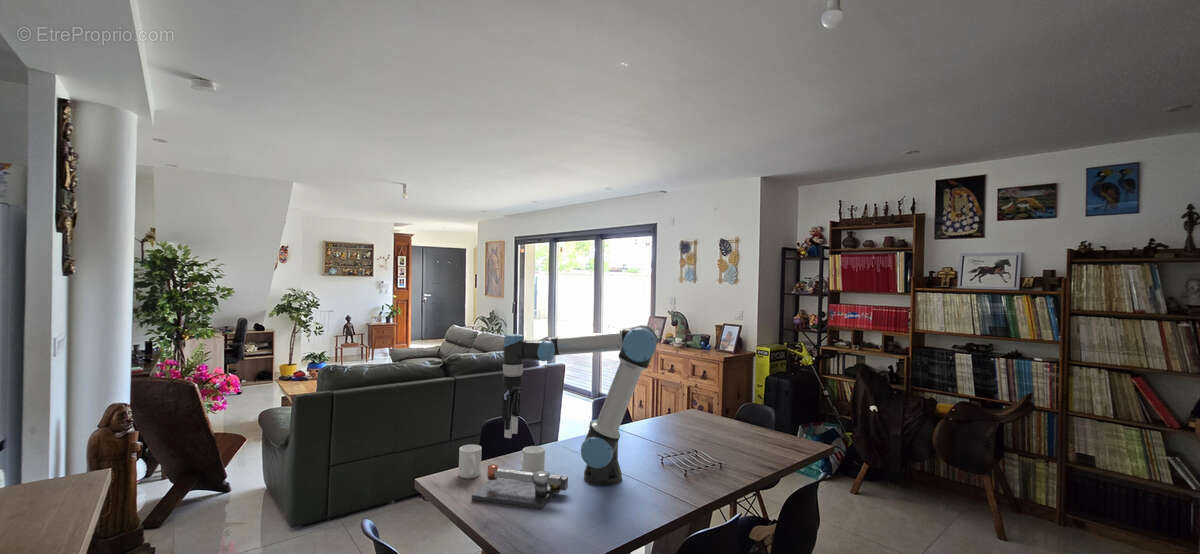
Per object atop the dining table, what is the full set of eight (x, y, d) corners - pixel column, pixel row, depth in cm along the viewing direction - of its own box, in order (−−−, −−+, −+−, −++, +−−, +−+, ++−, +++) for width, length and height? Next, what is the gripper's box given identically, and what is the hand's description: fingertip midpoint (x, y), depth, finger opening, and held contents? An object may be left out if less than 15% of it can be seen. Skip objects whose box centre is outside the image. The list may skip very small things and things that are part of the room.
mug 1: (462, 483, 188) (463, 455, 188) (456, 472, 198) (457, 446, 199) (485, 480, 192) (486, 452, 192) (477, 469, 202) (478, 443, 203)
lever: (562, 483, 177) (562, 471, 177) (557, 489, 171) (557, 477, 171) (491, 474, 183) (491, 462, 183) (484, 480, 178) (484, 468, 178)
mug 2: (548, 473, 200) (549, 450, 200) (529, 478, 194) (530, 454, 195) (532, 464, 209) (533, 442, 210) (514, 469, 204) (514, 446, 204)
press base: (567, 492, 182) (567, 476, 182) (553, 511, 166) (554, 493, 166) (491, 483, 189) (492, 467, 189) (471, 500, 173) (472, 483, 173)
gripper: (513, 370, 198) (511, 428, 198) (493, 378, 181) (491, 441, 180) (530, 371, 197) (528, 429, 196) (512, 379, 179) (510, 443, 179)
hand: (511, 435), depth 188 cm, fingers open, 5 cm apart
